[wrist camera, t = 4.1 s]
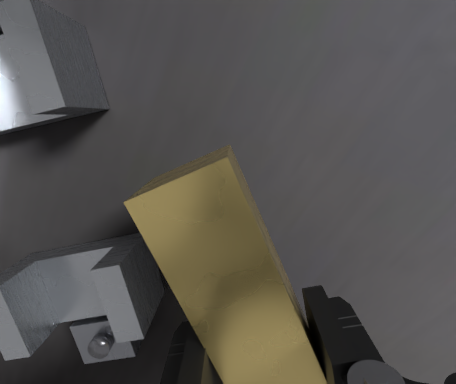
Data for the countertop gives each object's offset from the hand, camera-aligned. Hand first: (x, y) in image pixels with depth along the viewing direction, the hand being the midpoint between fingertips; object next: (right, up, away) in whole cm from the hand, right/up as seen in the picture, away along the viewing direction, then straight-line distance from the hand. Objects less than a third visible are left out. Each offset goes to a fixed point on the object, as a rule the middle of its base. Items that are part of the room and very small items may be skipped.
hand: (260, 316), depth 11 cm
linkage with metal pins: (-10, +5, +5) cm, 13 cm away
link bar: (0, 0, +1) cm, 1 cm away
